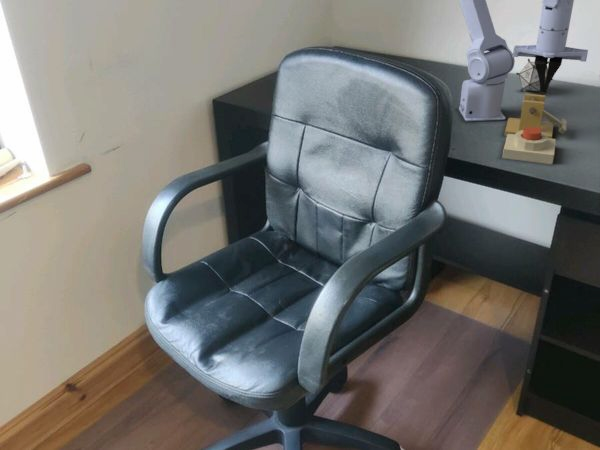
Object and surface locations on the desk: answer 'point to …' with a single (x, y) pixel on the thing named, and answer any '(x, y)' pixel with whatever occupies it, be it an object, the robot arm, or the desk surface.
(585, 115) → the desk surface
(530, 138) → the button
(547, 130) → the bracket
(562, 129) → the lever
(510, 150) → the control block
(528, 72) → the game die
